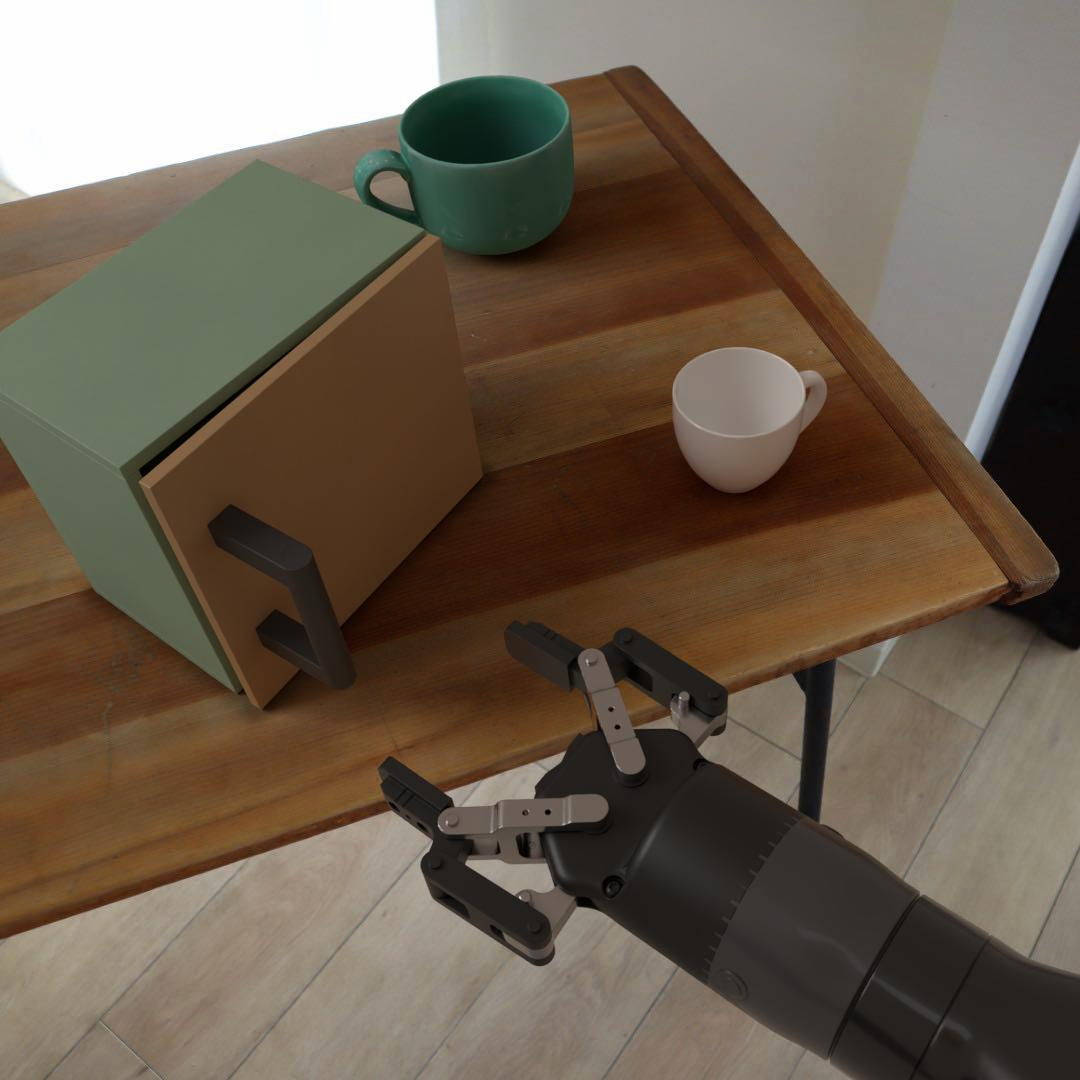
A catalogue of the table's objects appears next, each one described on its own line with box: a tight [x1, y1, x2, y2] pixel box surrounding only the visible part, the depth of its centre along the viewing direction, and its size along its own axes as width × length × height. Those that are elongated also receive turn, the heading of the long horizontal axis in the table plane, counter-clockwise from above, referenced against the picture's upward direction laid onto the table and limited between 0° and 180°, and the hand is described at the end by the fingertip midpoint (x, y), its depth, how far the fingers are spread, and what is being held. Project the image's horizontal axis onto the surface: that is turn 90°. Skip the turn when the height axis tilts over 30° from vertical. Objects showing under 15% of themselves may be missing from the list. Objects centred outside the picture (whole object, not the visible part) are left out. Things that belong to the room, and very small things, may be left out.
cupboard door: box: [139, 233, 484, 711], centre depth 62 cm, size 7×21×18 cm, turn 145°
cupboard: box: [0, 158, 427, 695], centre depth 67 cm, size 13×21×19 cm, turn 142°
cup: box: [671, 346, 828, 494], centre depth 72 cm, size 8×10×7 cm
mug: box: [353, 74, 575, 256], centre depth 89 cm, size 17×13×10 cm
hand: (450, 700), depth 52 cm, fingers open, 8 cm apart
